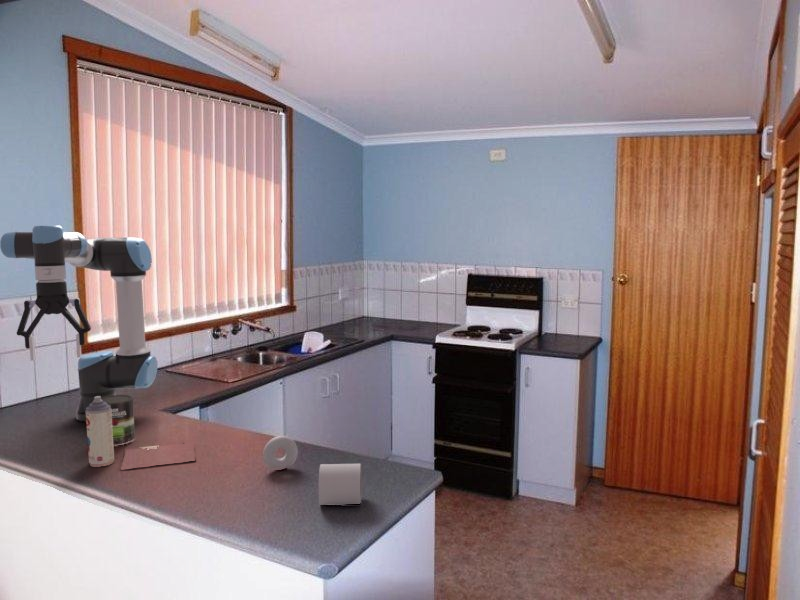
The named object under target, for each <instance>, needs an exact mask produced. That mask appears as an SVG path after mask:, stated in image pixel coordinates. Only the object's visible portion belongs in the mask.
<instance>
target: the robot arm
mask: <svg viewBox="0 0 800 600" xmlns="http://www.w3.org/2000/svg"><path fill="white" fill-rule="evenodd" d="M0 251H1V253H2V255H3V256H4V257H6V258H12V259H31V260H34V275H35V280H36V281H37V282H36V283H35V288H36V299H35V300H31V299H26V300H24V301H23V307H24V308H23V309H24V310H23V313H22V315H21V318H20V321H19V325H18V328H17V330H16V335H17V336H20V337H23V338H24V346H25V349H29V357H30V358H29V359H30V361H35V360H36V358H37V357H36V346H35V345H36V344H35V336H34V335H32V333H33V332H34V331H35V329H36V327H37V326H38V324H39V323H40V321H41V320H42V319H43V317H44V316H45V315H47V316H48V315H52V314H54V315H59V314H61V315H62V316H63V317H64V318H65V319H66V320H67V321H68V323H69V324H71V326H72V327H73V328H74V329H75V331H76V332H77V333H76V334H75V341H76V356H77V357H76V358H79V359H78V361H77V371H78V385H79V396H80V397H79V401H78V405H77V408H76V412H75V419H76V421H78V420H79V421H78V422H82V421H84V422H83V423H86V408H87V407H89V405H90V404H91V403H92V402H93V401H94V397H96V396H101V399H102V398H104V397H108V396H114V395H117V394H116V389H136V390H138V389H147V388H149V387H150V386H151V385H153V383H154V381H155V379H156V377H157V373H158V359H157V357H156V356H155V355H152V354H151V348H149V346H148V347H147V345H146V333H145V332H146V331H145V315H144V313H145V312H144V311H145V310H144V297H143V295H144V294H143V281H142V280H143V279H144V278H145V277H146V276H147V271H150V269H151V267H152V261H153V260H152V259H153V258H152V253H151V249H150V247H149V244H148V243H147V242H146V240H144V239H143V238H139V237H131V236H130V237H97V238H96V237H95V238H86V237H85V236H84V235H83V234H82V233H80V232H77V231H73V230H72V231H71V230H70V231H69V230H68V231H64V229H63V227H62V226H61V225H59V224H58V225H57V224H56V225H34V226H33V228H32V231H30V232H29V231H27V232H25V231H22V232H21V231H14V232H4V233H3V235H2V236H1V238H0ZM66 263H68V264H70V265H72V266H73V267H79V268H83V269H89V270H94V271H101V272H103V271H104V272H107V271H108V272H109V273H110V277H111V278H112V279H113V280H114V282H115V289H116V305H117V306H116V309H117V323H118V325H117V326H118V339H119V348H118V349H117V350H116V351H115V355H114V352H113V351H110V350H104V351H98V352H94V353H89V354H86V355H83V356H82V346H84V345H85V343H86V341H85V339H86V338H85V337H86V336H85V334H86V333H88V332H90V331H91V329H92V327H91V325H90V322H89V320H88V318H87V317H86V314H85V312H84V311H83V308H82V306H81V298H80V297H76V298H69V297H68V288H67V287H68V286H67V281H65V280H66V279H67V273H66V272H67V271H66V269H67V268H66ZM69 304H71V305H72V307H74V309H75V311H76V313H77V315H78V318H79V320H80V322H81V324H82V326H81V324H80V323H79V322H78V321H77V320H76V318H75V317H74V316H73V315H72V313H71V312H70V311H69V310H68V308H67V307H68V305H69ZM34 306H36V307H38V308H39V309H40V310H39V311H38V313H37V314H36V316H35V318H34V319H33V320H32V322H31V323H30V325H29V327H28V328H27V329H26V325H27V323H28V321H29V316H30V314H31V312H32V311H31V310H32V308H34ZM25 329H26V330H25Z"/></svg>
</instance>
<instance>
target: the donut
mask: <svg viewBox="0 0 800 600" xmlns="http://www.w3.org/2000/svg"><path fill="white" fill-rule="evenodd" d="M282 448H283V449H284V450H285V454H284V456H283V457H280V458H278V457H276V452H277V451H278V450H279V449H282ZM298 452H299V449H298V445H297V444H296V442H295V440H294V439H292V438H291V437H290V436H286V435H279V436H278V435H277V436H275V437H273V438H271V439H270V440H269V441H268V442H267V443H266V444H265V445H264V448H263V451H262V457H263V461H264V464H265V465H266V467H268V468H280V467H287V466H290V467H292V466H293V464H294V463H295V462H296V460H297V458H298ZM291 465H292V466H291Z"/></svg>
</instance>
